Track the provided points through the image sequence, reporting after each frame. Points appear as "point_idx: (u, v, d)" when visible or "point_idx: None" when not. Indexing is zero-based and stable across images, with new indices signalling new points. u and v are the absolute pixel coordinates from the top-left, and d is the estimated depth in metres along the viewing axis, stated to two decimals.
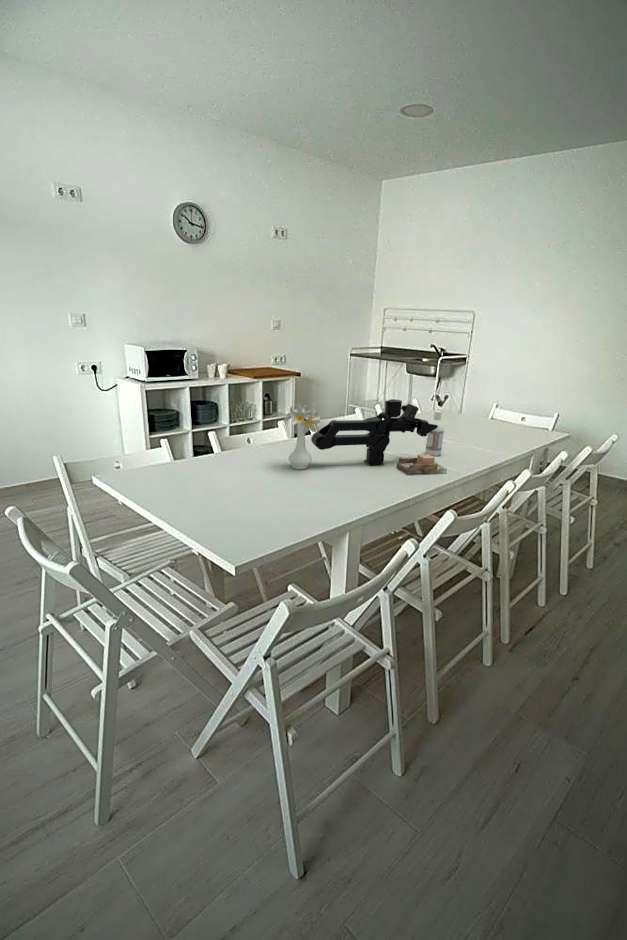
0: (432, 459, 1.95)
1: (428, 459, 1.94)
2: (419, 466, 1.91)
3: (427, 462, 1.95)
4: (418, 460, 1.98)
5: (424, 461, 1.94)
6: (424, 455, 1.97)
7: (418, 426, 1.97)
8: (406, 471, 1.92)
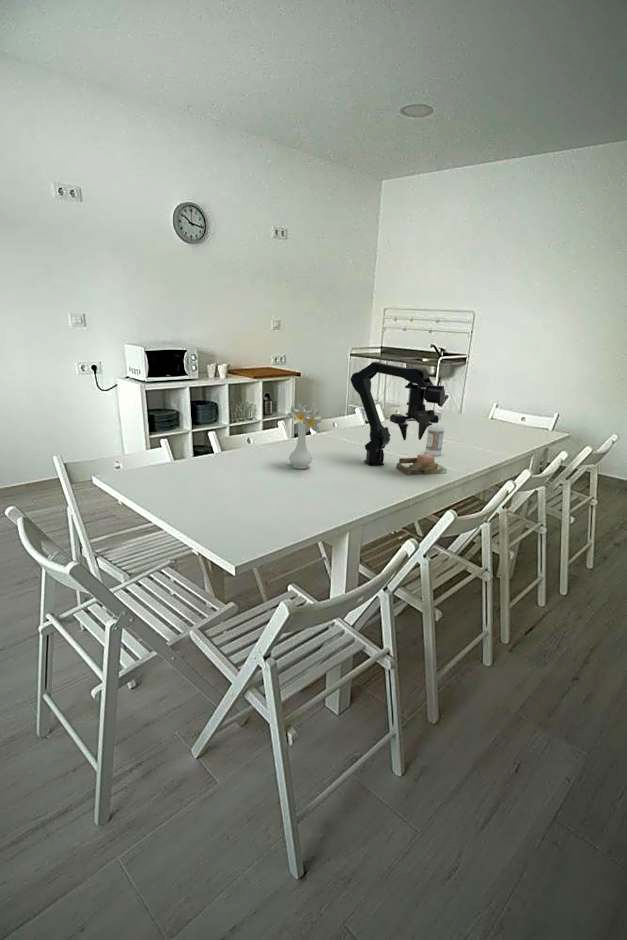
0: (432, 459, 1.95)
1: (428, 459, 1.94)
2: (419, 466, 1.91)
3: (427, 462, 1.95)
4: (418, 460, 1.98)
5: (424, 461, 1.94)
6: (424, 455, 1.97)
7: (400, 415, 1.87)
8: (406, 471, 1.92)
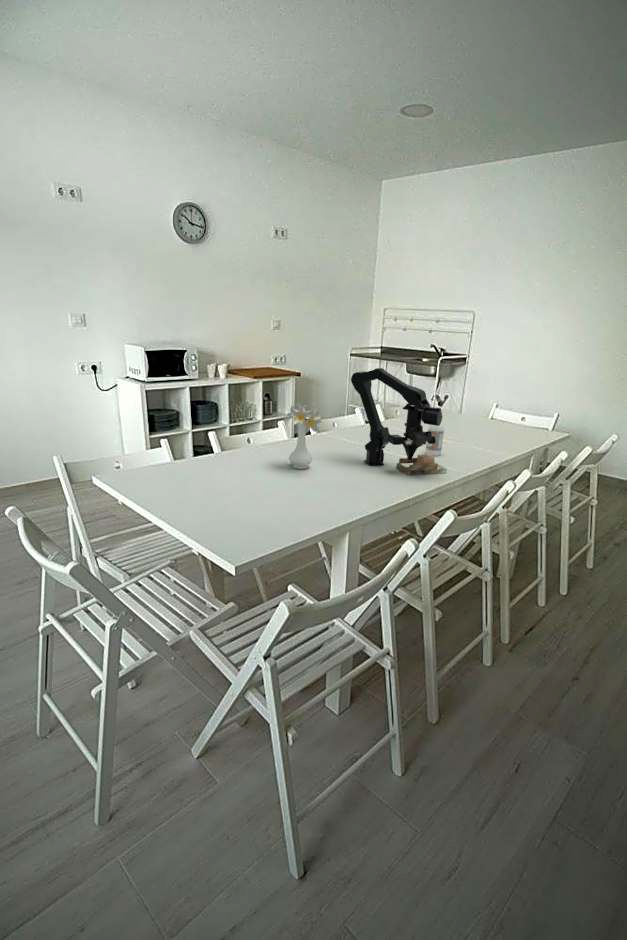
0: (432, 459, 1.95)
1: (428, 459, 1.94)
2: (419, 466, 1.91)
3: (427, 462, 1.95)
4: (418, 460, 1.98)
5: (424, 461, 1.94)
6: (424, 455, 1.97)
7: (397, 436, 1.89)
8: (406, 471, 1.92)
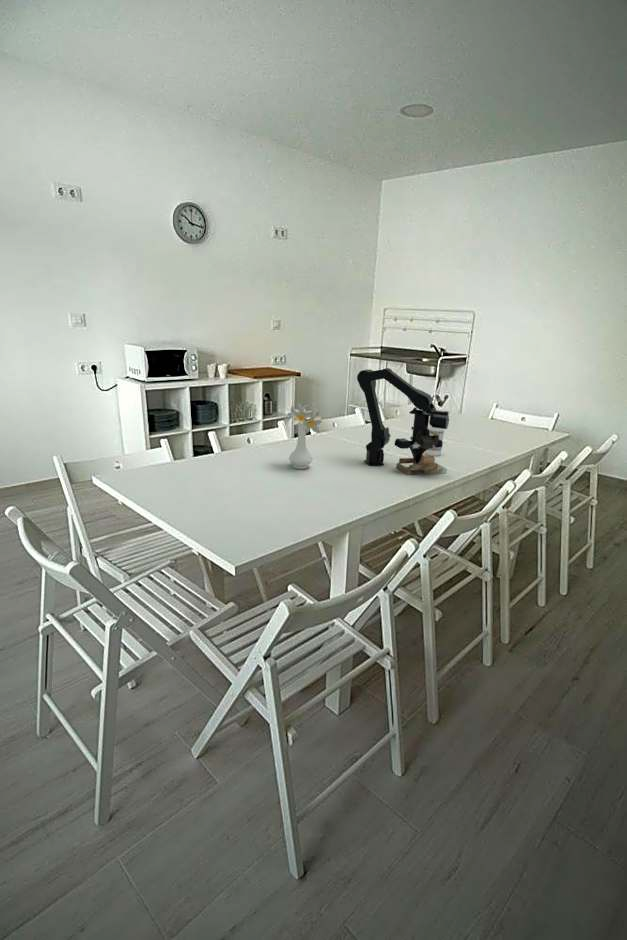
0: (432, 459, 1.95)
1: (429, 459, 1.94)
2: (419, 466, 1.91)
3: (428, 462, 1.95)
4: None
5: (424, 461, 1.94)
6: (424, 455, 1.97)
7: (404, 440, 1.91)
8: (406, 471, 1.92)
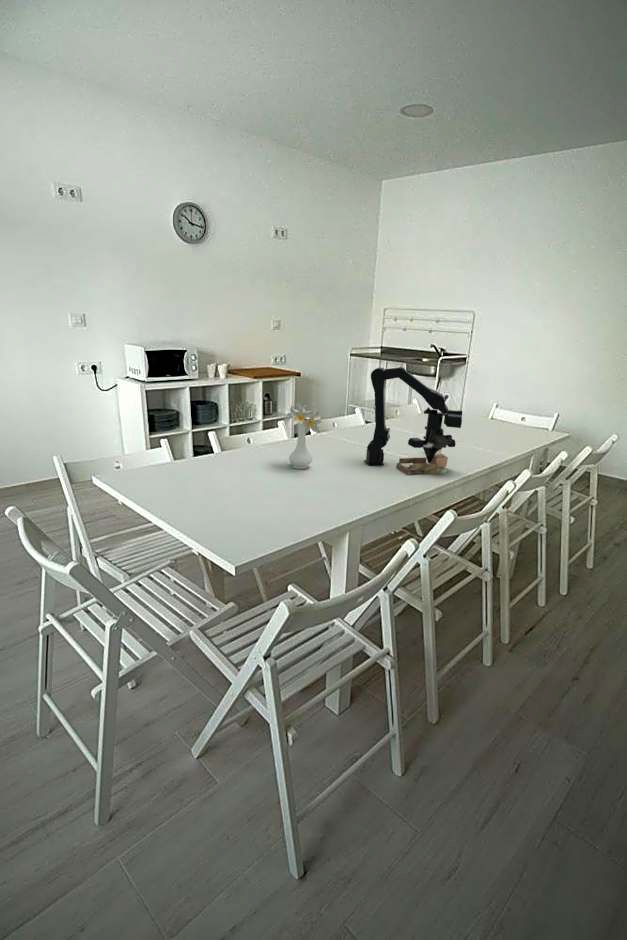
0: (445, 459, 1.97)
1: (441, 458, 1.96)
2: (419, 466, 1.91)
3: (440, 461, 1.96)
4: None
5: (437, 461, 1.96)
6: (437, 455, 1.99)
7: (418, 439, 1.92)
8: (406, 471, 1.92)
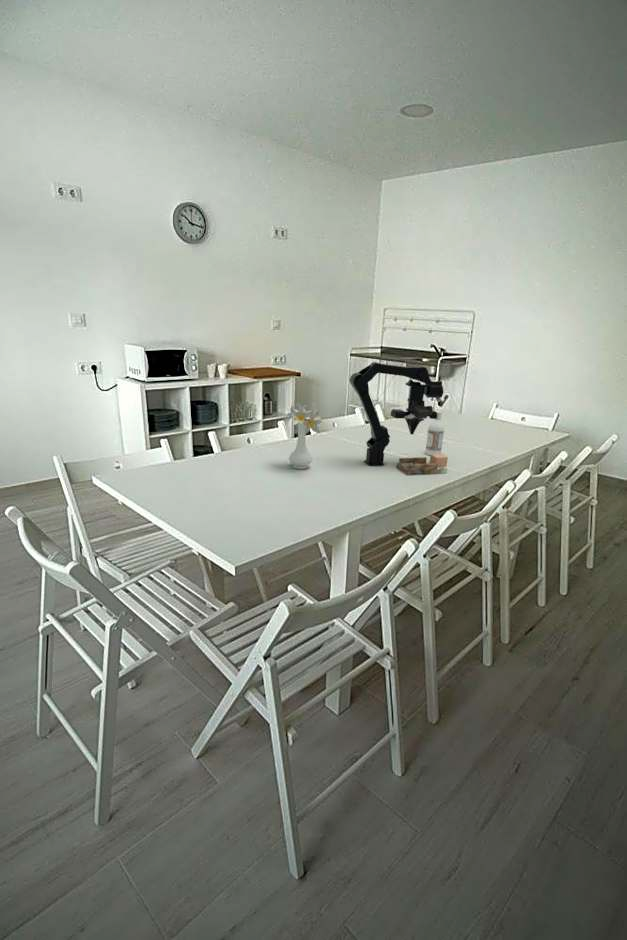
0: (445, 459, 1.97)
1: (441, 458, 1.96)
2: (419, 466, 1.91)
3: (440, 461, 1.96)
4: (431, 459, 1.99)
5: (437, 461, 1.96)
6: (437, 455, 1.99)
7: (400, 410, 1.98)
8: (406, 471, 1.92)
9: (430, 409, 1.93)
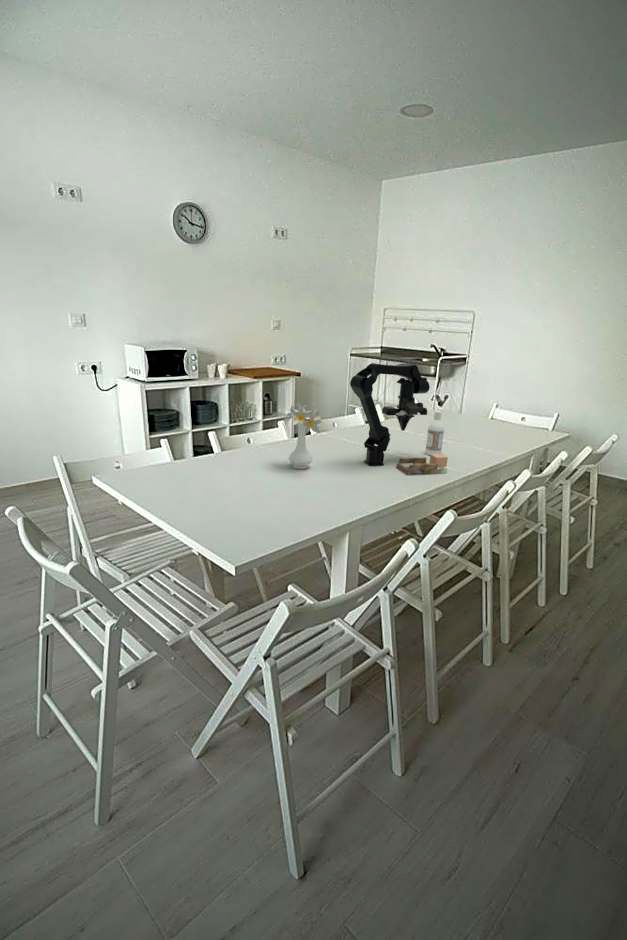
0: (445, 459, 1.97)
1: (441, 458, 1.96)
2: (419, 466, 1.91)
3: (440, 461, 1.96)
4: (431, 459, 1.99)
5: (437, 461, 1.96)
6: (437, 455, 1.99)
7: (391, 407, 2.02)
8: (406, 471, 1.92)
9: (421, 406, 1.99)
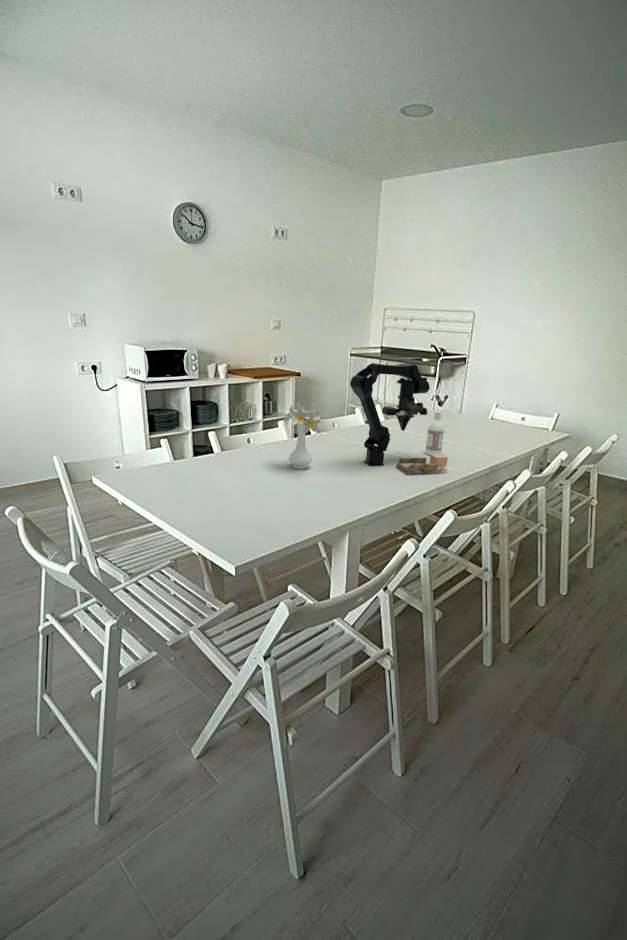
0: (445, 459, 1.97)
1: (441, 458, 1.96)
2: (419, 466, 1.91)
3: (440, 461, 1.96)
4: (431, 459, 1.99)
5: (437, 461, 1.96)
6: (437, 455, 1.99)
7: (391, 407, 2.02)
8: (406, 471, 1.92)
9: (421, 406, 1.99)
